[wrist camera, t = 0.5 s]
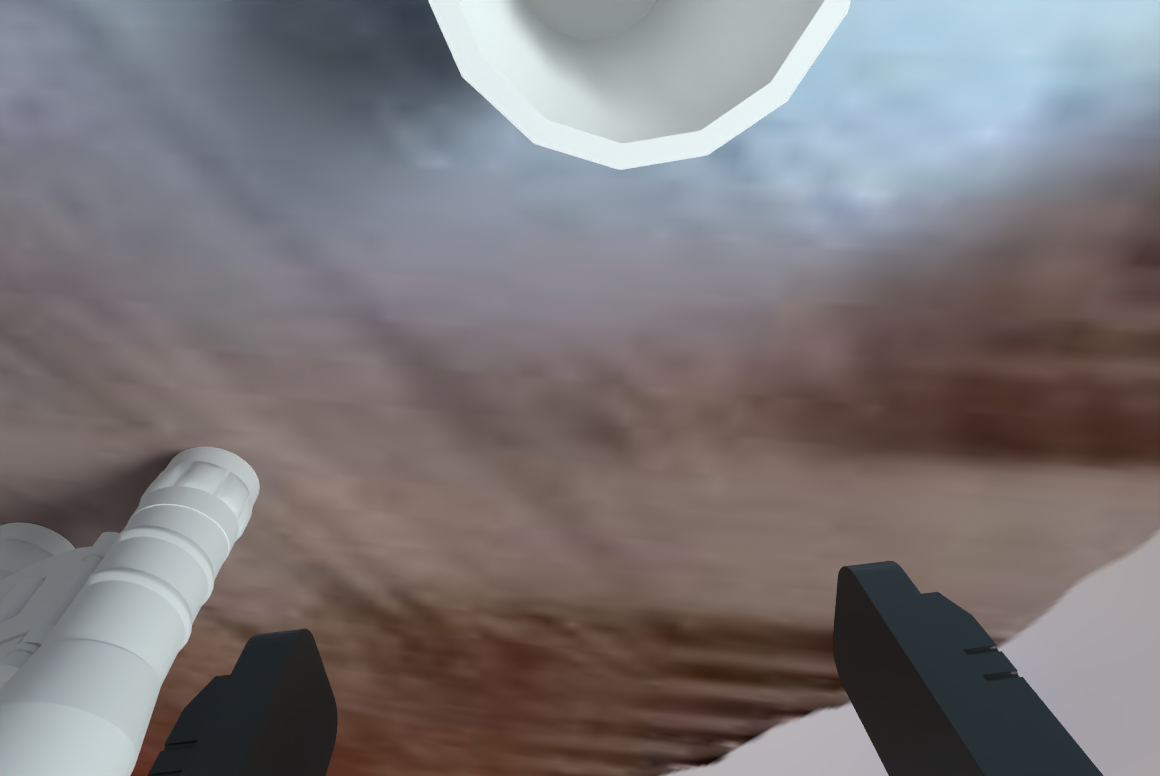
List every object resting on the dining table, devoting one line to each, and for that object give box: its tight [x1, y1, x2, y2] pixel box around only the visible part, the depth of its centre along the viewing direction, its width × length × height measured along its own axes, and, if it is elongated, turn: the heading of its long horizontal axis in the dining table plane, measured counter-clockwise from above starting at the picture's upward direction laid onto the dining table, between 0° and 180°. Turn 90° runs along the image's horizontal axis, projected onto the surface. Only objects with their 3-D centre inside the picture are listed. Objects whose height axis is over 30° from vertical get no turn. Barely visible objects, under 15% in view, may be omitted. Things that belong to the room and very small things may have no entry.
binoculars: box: [0, 447, 260, 776], centre depth 29 cm, size 17×5×18 cm, turn 112°
